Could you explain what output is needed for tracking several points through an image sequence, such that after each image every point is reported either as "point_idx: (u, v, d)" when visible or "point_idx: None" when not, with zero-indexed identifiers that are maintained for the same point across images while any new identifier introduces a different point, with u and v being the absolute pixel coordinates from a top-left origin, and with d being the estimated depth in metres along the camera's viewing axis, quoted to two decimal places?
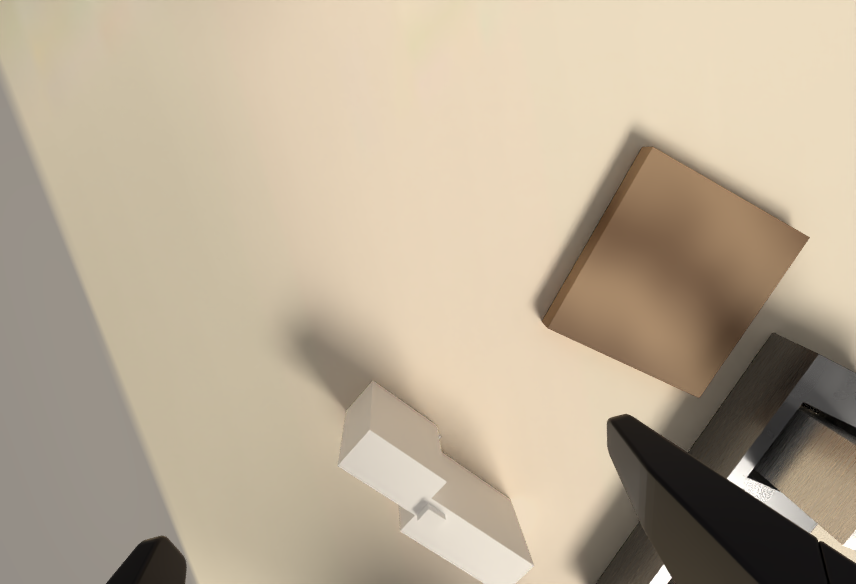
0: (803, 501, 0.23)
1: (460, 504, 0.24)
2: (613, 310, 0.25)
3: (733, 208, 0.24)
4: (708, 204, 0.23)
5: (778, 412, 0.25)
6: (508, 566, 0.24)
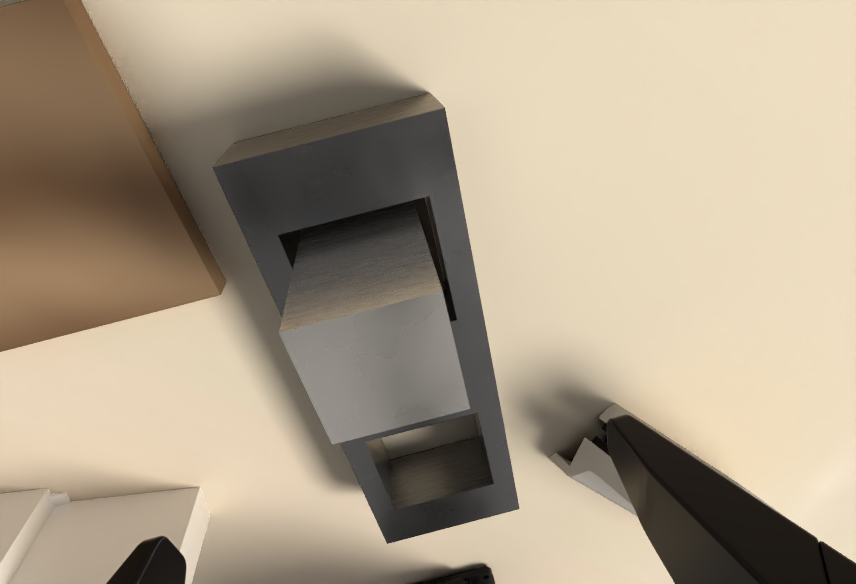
0: None
1: (61, 574, 0.21)
2: None
3: None
4: None
5: (265, 269, 0.16)
6: None
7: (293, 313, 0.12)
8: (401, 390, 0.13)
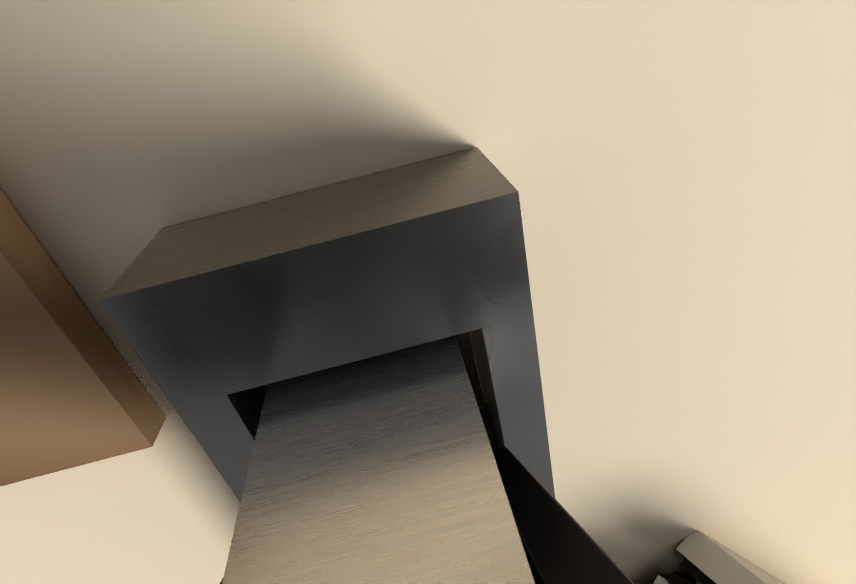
0: None
1: None
2: None
3: None
4: None
5: (208, 442, 0.10)
6: None
7: None
8: None
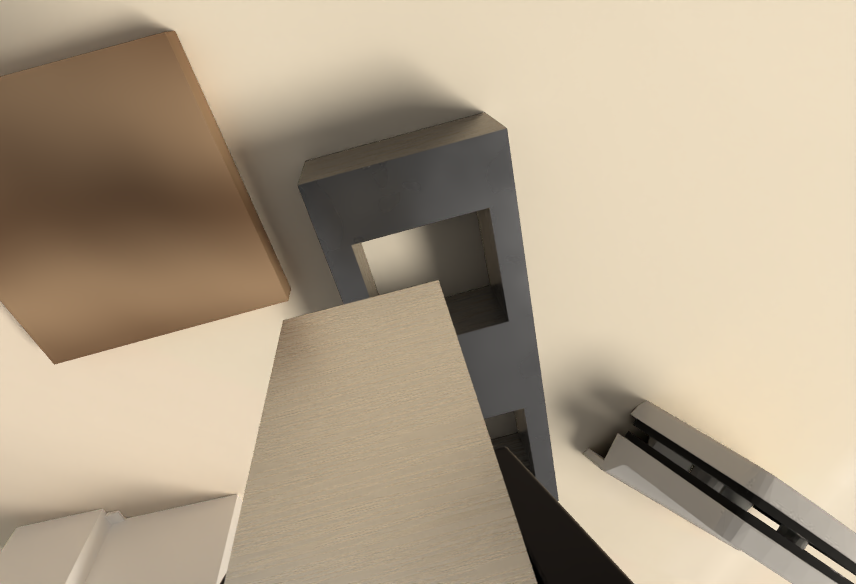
0: None
1: None
2: (83, 301, 0.18)
3: (29, 92, 0.15)
4: None
5: (337, 276, 0.17)
6: None
7: None
8: None
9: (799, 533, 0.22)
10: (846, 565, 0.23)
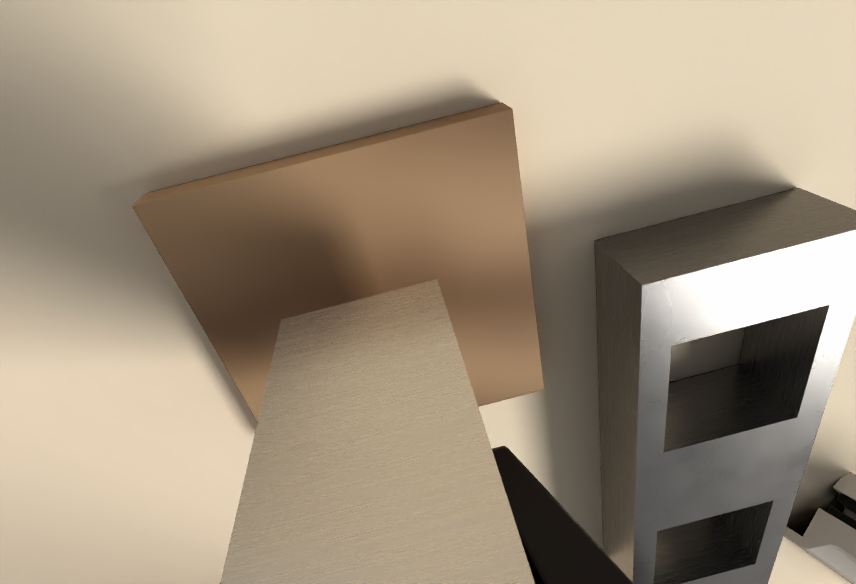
0: None
1: None
2: None
3: (343, 176, 0.12)
4: (301, 203, 0.13)
5: (643, 378, 0.15)
6: None
7: None
8: None
9: None
10: None
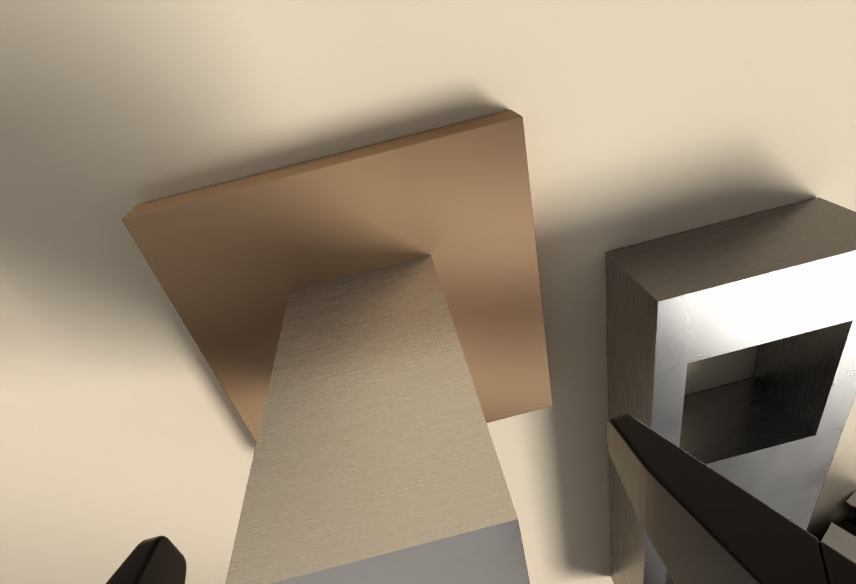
0: None
1: None
2: None
3: (344, 187, 0.12)
4: (300, 216, 0.12)
5: (657, 396, 0.14)
6: None
7: (253, 537, 0.07)
8: None
9: None
10: None
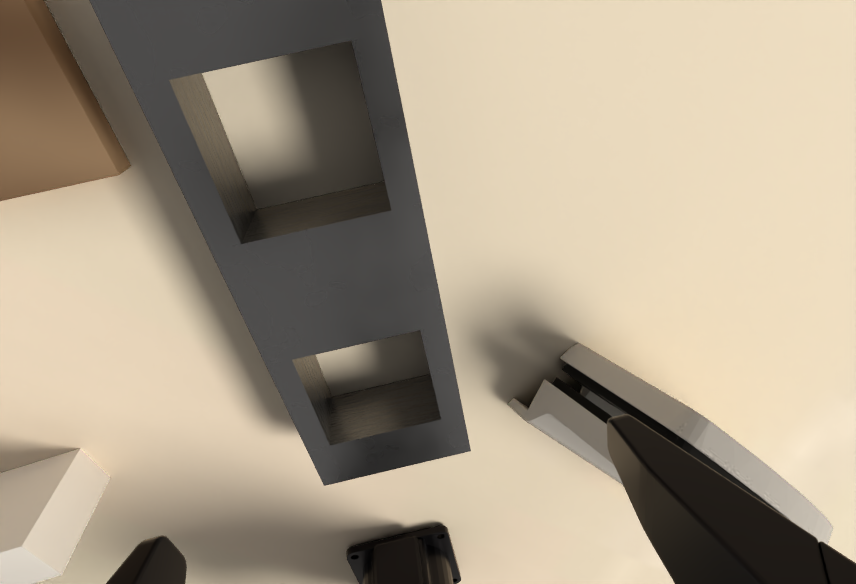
0: None
1: None
2: None
3: None
4: None
5: (156, 126, 0.13)
6: (12, 563, 0.19)
7: None
8: None
9: None
10: None
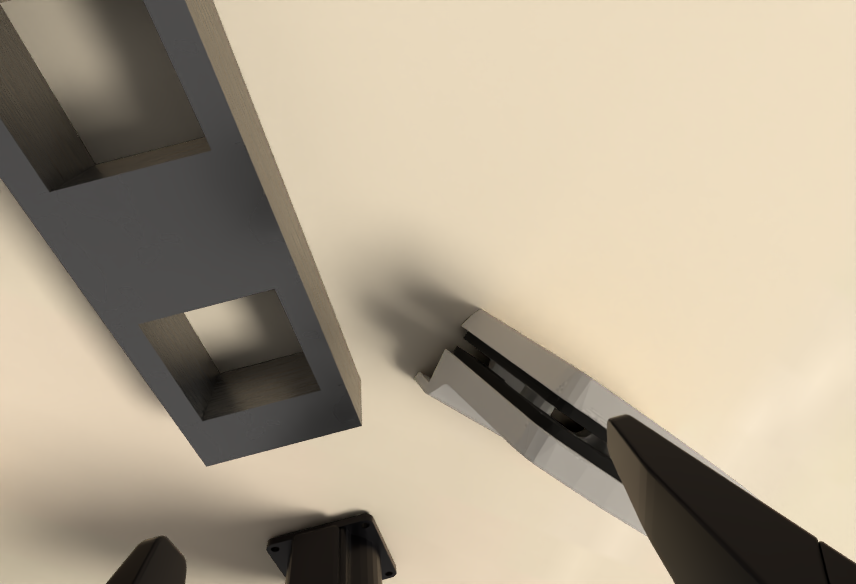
0: None
1: None
2: None
3: None
4: None
5: None
6: None
7: None
8: None
9: None
10: None
